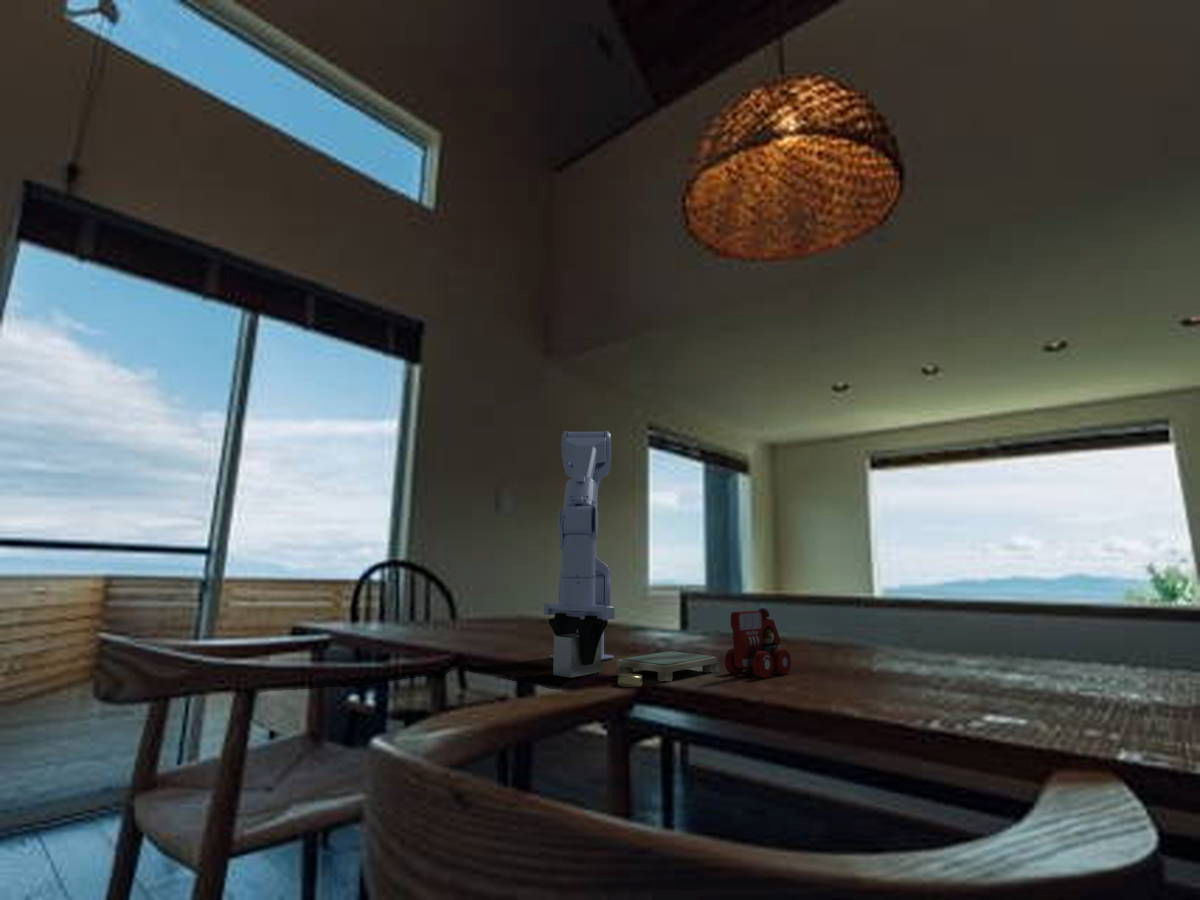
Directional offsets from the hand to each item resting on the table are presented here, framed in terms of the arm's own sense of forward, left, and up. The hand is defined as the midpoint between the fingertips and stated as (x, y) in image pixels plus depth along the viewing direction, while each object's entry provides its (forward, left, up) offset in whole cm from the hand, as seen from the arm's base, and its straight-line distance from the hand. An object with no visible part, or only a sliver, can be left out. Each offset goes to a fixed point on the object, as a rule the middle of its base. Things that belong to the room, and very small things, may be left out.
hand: (577, 662), depth 105 cm
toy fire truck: (+21, +21, -2) cm, 30 cm away
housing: (0, 0, -2) cm, 2 cm away
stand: (+10, +11, -2) cm, 15 cm away
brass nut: (+12, -1, -2) cm, 12 cm away
